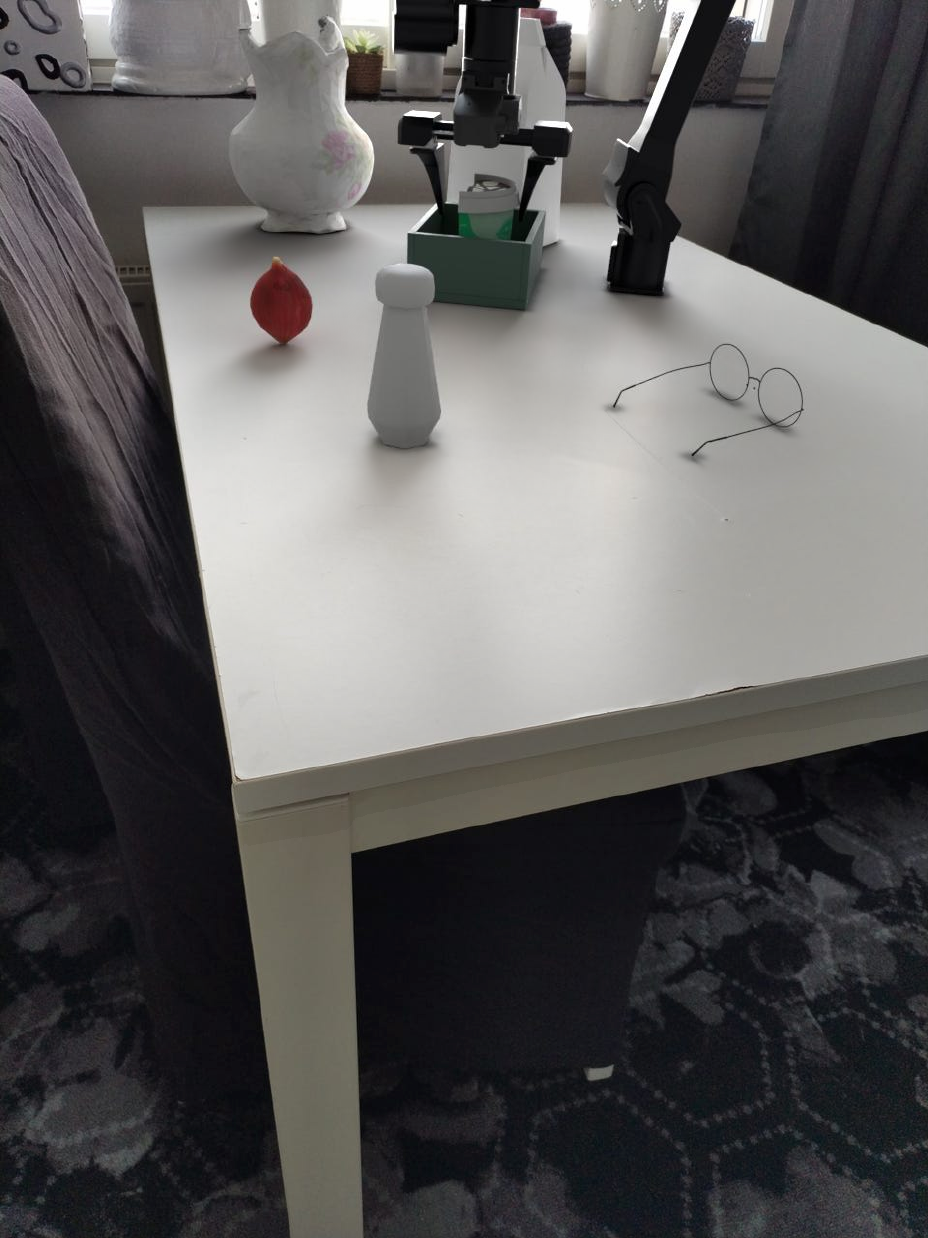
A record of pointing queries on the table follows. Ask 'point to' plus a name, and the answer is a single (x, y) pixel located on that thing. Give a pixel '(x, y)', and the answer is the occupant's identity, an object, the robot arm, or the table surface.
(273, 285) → the onion
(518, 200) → the food container
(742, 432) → the eyeglasses
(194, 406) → the table surface
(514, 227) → the green open box
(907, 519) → the table surface
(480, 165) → the milk
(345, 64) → the ceramic pitcher
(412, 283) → the salt shaker
